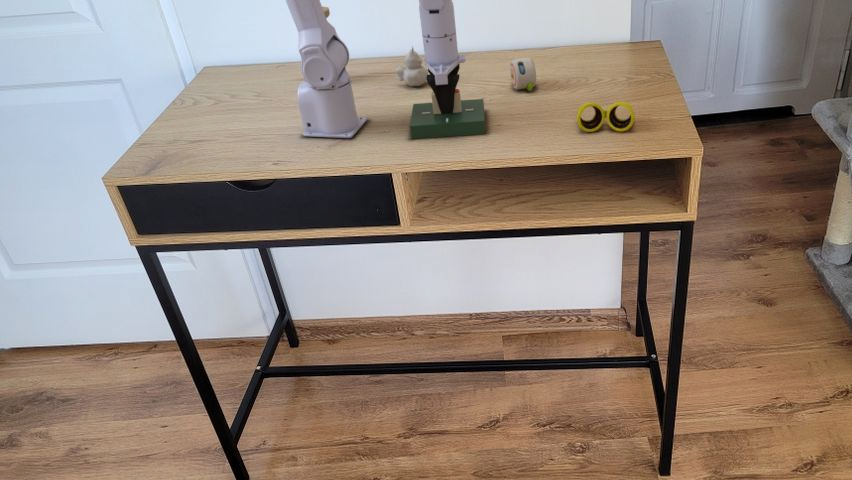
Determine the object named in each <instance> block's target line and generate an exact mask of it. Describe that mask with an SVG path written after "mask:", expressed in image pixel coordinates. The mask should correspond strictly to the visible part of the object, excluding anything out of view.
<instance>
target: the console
mask: <svg viewBox="0 0 852 480" xmlns="http://www.w3.org/2000/svg"><path fill="white" fill-rule="evenodd" d="M461 107H462V112H458V113H449V114H434V113H433V105H432V102H422V103H421V102H420V103H413V104H412V111H411V117H410V122H409V123H410V124H409V129H410V136H411V140H417V139H418V140H419V139H432V138H433V139H435V138H446V137H459V136H473V135H485V134H486V115H485V101H484V98H477V99H463V100H462V99H461Z"/></svg>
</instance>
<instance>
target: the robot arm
mask: <svg viewBox="0 0 852 480" xmlns="http://www.w3.org/2000/svg"><path fill="white" fill-rule="evenodd" d="M285 3H286V5H287V7H288V9H289V13H290V15H291V17H292V20H293V22H294V25H295V28H296V30H297V32H298V42H297V46H298V47H297V49H298V52H299V55H300V58H301V59H300V60H301V63H300V64H301V65H300V71H301V74H302V77H303V79H304V81H302V82H301V83H300V84H299V86H298V88H297V97H296V98H297V105H298V110H299V114H300V118H301V119H300V120H301V123H302V127H303V131H304V132H303V133H302V136H303V137H316V138H338V139H343V138H344V139H351V138H353V137H354V136H355V134H357V132H358V131H359V130H360V129H361V128H362V127H363V126H364V124H365V123H366V122H367V118H366V117H358V114H357V108H356V102H355V97H354V91H353V86H352V80H351V76H350V74H349V72H348V70H347V69H346V67H347V65H348V64H349V61H350V51H349V48H348V47H347V45H346V44H345V42H344V41H343V40H342V39H341V38H340V37H339V35H338V33H337V30H336V28H335V26H333V25H332V24H331V23H330V22H329V21H328V18H326V16H325V14H324V11H323V8H322V7H323V6H322V3H321V0H285ZM418 4H419V6H418V12H419V20H420V29H421V36H422V44H423V52H424V53H423V54H424V59H423V61H424V67H426V69H427V71H428V75H427V77H426V79H427V80H426V83H427V84H428V86H429V87H430V89H431V91H432V92H434V94H435V97H436V100H437V103H438V106H439V109H440V111H441V114H449V113H453V110H454V96H455V89H457V86H458V83H459V80H460V74H459V72H460V67H461V66H460V64H464V63H466V55H465V54H459V48H458V39H457V28H456V19H455V8H454V7H455V6H454V2H453V0H418Z"/></svg>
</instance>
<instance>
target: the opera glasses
mask: <svg viewBox="0 0 852 480" xmlns="http://www.w3.org/2000/svg"><path fill="white" fill-rule="evenodd" d="M589 107H591V108H593V110H594V115H593V117H592V118H591V119H588V120H585V119H583V118H582V114H583V112H584V111H585V110H586V109H587V108H589ZM619 107H623V108H626V109H627V110H628V112H629V113H630V114H629V116H628V117H627V118H626V119H620V118H619V117H618V116H617V113H616V111H617V109H618V108H619ZM635 117H636V115H635V112H634V109H633V106H632V105H631V104H630V103H628V102H626V101H617V102H614V103H612V104H611V105H610V106H609V107H608V109H607V110H606V109H603V106H601V105H600V104H599V103H597V102H586V103H583V104H581V105H580V106H579V107H578V109H577V116H576V122H577V125H578V127H579V128H580V129H581V130H582V131H584V132H587V133H593V132H596V131H598V130H599V129H600V128H601V127H602V126H603V125H604V122H605V119H606V122H607V124H608V125H609V127H610V128H611V130H614V131H616V132H625V131H628V130H630V129H631V128H632V126H633V125H634V122H635Z"/></svg>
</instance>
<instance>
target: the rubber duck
mask: <svg viewBox="0 0 852 480" xmlns="http://www.w3.org/2000/svg"><path fill="white" fill-rule="evenodd" d="M423 61H424V59H422V58H421V57H420V56H419V53H418V52H417V51H415V50H414V46H413V45H412V47H411V49H410V50H409V51H408V53H407V54H406V55H405V57H404V60H403V64H404V66H405V67H403V66H398V67H396V68H395V69H394V72H395V75H396V80H397V81H399V82H405V83H406V84H407V85H408V86H410V87H420V86H422V85H424V84H425V83H426V82H427V79H426V77H427V75H429V72H428V69H427V68H425V66H423V65H422V64H423Z"/></svg>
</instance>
